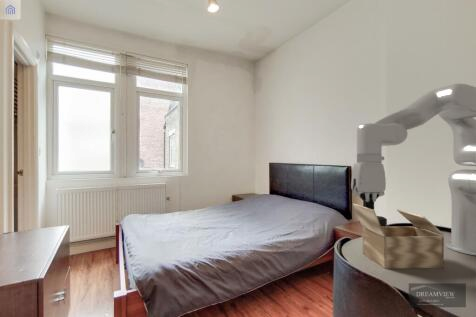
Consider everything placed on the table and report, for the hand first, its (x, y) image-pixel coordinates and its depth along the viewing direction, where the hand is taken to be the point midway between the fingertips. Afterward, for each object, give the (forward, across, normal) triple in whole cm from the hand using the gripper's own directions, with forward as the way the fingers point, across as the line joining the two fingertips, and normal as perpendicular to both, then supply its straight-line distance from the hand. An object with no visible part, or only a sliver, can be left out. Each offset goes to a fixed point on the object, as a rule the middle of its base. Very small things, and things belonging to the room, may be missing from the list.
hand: (368, 212), depth 82 cm
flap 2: (+3, -18, 0) cm, 19 cm away
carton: (+17, -12, 0) cm, 20 cm away
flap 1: (+2, 0, 0) cm, 2 cm away
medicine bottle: (+17, -13, -13) cm, 25 cm away
